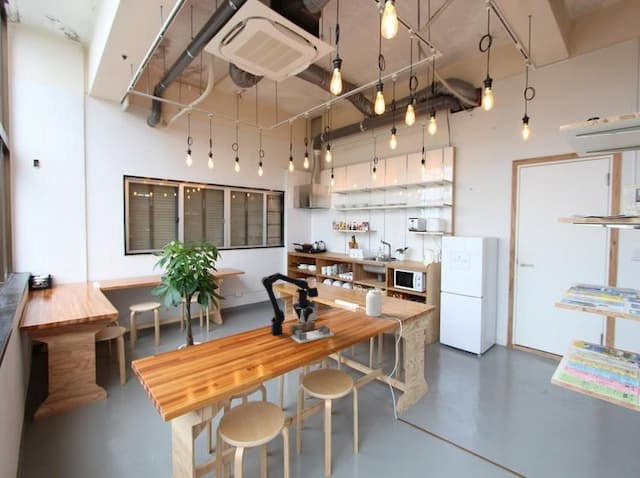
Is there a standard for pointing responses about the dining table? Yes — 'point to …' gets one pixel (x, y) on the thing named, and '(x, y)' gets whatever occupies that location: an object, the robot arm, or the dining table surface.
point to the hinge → (310, 318)
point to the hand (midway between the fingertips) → (302, 320)
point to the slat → (302, 326)
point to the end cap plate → (312, 334)
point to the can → (374, 303)
